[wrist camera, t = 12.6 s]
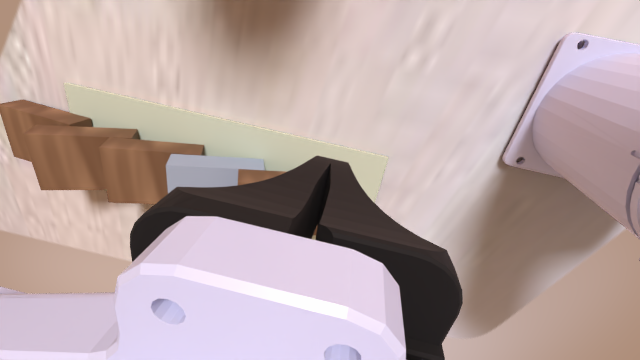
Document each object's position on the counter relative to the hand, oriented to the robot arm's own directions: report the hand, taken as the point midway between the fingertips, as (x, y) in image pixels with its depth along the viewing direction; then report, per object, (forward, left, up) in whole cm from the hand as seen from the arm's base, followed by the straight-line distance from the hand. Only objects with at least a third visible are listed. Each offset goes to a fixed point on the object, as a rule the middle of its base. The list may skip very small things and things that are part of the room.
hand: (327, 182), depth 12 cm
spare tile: (+5, +7, -9) cm, 13 cm away
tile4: (+15, +7, -9) cm, 19 cm away
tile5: (+20, +7, -9) cm, 23 cm away
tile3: (+10, +7, -9) cm, 15 cm away
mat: (+9, +7, -10) cm, 15 cm away
